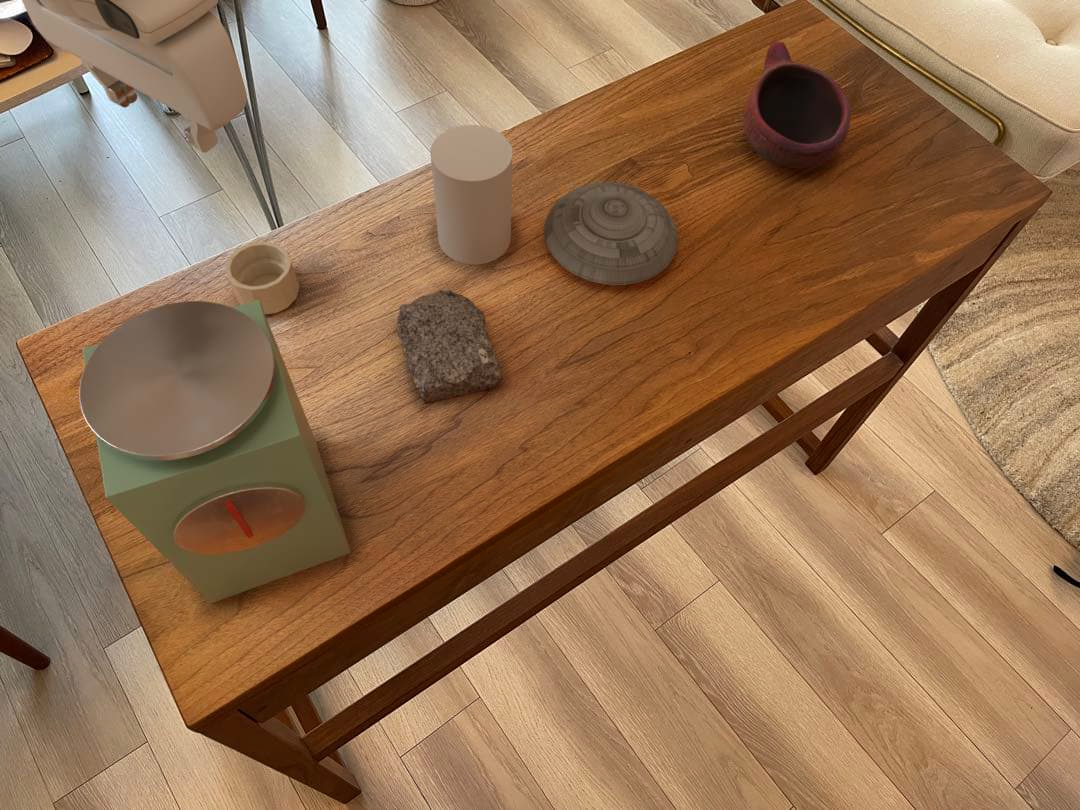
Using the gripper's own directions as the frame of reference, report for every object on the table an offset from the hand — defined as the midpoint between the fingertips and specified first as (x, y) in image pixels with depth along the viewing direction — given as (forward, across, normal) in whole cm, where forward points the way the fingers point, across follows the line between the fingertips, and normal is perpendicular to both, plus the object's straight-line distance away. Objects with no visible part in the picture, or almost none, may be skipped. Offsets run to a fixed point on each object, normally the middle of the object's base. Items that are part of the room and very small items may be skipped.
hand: (164, 123), depth 67 cm
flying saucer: (+21, +30, +28) cm, 46 cm away
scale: (+20, +22, -18) cm, 35 cm away
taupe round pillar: (+21, +17, +20) cm, 33 cm away
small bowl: (+20, +4, +1) cm, 21 cm away
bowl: (+21, +38, +55) cm, 70 cm away
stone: (+21, +24, +6) cm, 32 cm away
